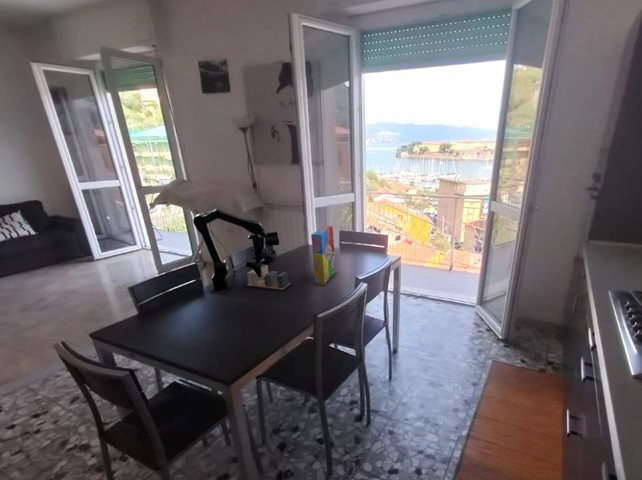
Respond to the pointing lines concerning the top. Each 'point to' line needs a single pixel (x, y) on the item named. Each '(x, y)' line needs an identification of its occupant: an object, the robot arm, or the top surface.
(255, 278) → the cream book
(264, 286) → the book stand
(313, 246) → the game box
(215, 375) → the top surface
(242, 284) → the top surface
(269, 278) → the grey book
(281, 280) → the grey book
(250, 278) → the cream book
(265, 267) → the cream book
